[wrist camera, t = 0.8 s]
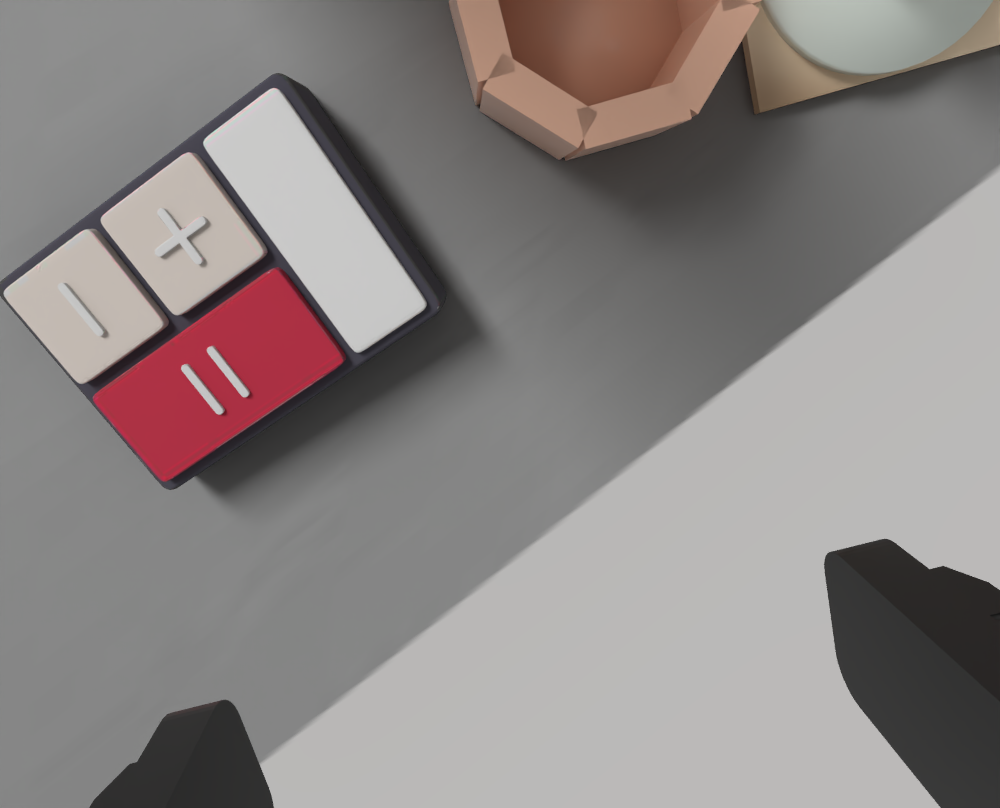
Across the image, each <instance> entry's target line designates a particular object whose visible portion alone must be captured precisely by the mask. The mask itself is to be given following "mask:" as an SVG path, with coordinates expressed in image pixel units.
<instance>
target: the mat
mask: <svg viewBox="0 0 1000 808" xmlns="http://www.w3.org/2000/svg"><path fill="white" fill-rule="evenodd" d="M755 6H756V7H757V8H759V9H760V10H759V12H758V14H757V16H756V17H755V19H754V21H753V22H752V24H751V26H750V27H749V29H748V31H747V32H746V34H745V36H744V38H743V39H742V44H743V49H744V55H745V61H746V67H747V73H748V79H749V85H750V90H751V96H752V102H753V108H754V114H758V113H762V112H765V111H769V110H772V109H776V108H779V107H783V106H786V105H790V104H793V103H797V102H800V101H804V100H808V99H811V98H815V97H818V96H822V95H825V94H829V93H832V92H836V91H839V90H843V89H846V88H850V87H853V86H857V85H860V84H864V83H867V82H871V81H874V80H878V79H881V78H885V77H888V76H892V75H896V74H899V73H903V72H906V71H910V70H913V69H917V68H920V67H924V66H927V65H931V64H934V63H938V62H941V61H945V60H948V59H952V58H955V57H959V56H962V55H966V54H969V53H973V52H977V51H980V50H984V49H987V48H991V47H994V46H998V45H1000V0H993V2H992V3H991V4H990V6H989V7H988V9H987V10H986V11H985V13H984V14H983V15H982V17H981V18H980V19H979V20H978V21H977V22H976V23H975V24H974V26H973V27H972V28H971V29H970V30H969V31H968V32H967V33H966V34H965V35H963V36H962V37H961V38H960V39H959V40H958V41H956V42H955V43H954V44H953V45H951V46H950V47H948V48H947V49H945V50H944V51H942V52H941V53H939V54H938V55H936V56H934V57H932V58H930V59H928V60H926V61H924V62H921V63H919V64H916V65H913V66H910V67H907V68H905V69H902V70H899V71H896V72H891V73H886V74H882V75H871V76H856V75H846V74H842V73H837V72H833V71H830V70H827V69H825V68H822V67H820V66H817V65H815V64H814V63H812V62H810V61H809V60H807V59H805V58H803V57H802V56H801V55H800V54H798V53H797V52H796V51H795V50H793V49H792V48H791V47H790V46H789V45H788V44H787V43H786V42H785V41H784V40H783V39H782V38H781V37H780V36H779V34H778V33H777V31H776V30H775V29H774V27H773V26H772V24H771V23H770V21H769V20H768V18H767V16H766V14H765V12H764V10H763V8H762V6H761V4H760V2H759V3H758V4H757V5H755Z"/></svg>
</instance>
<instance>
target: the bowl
mask: <svg viewBox="0 0 1000 808" xmlns="http://www.w3.org/2000/svg"><path fill="white" fill-rule="evenodd" d="M761 1H762V0H449V7H450V11H451V15H452V18H453V22H454V26H455V30H456V34H457V37H458V41H459V45H460V49H461V53H462V56H463V60H464V64H465V68H466V72H467V75H468V79H469V83H470V87H471V91H472V94H473V98H474V102H475V106H476V105H479V104H480V112H482V113H483V114H485V115H487V116H488V117H490V118H491V119H493V120H495V121H496V122H498V123H500V124H501V125H503V126H505V127H506V128H508V129H509V130H511V131H513V132H514V133H516V134H518V135H519V136H521V137H522V138H524V139H526V140H527V141H529V142H531V143H532V144H534V145H535V146H537V147H539V148H540V149H542V150H544V151H545V152H547V153H549V154H550V155H552V156H553V157H555V158H557V159H558V160H560V159H561V158H563V157H565V161H567V160H570V159H574V158H577V157H581V156H584V155H588V154H591V153H595V152H598V151H602V150H605V149H609V148H612V147H616V146H619V145H623V144H627V143H630V142H634V141H637V140H641V139H644V138H648V137H651V136H654V135H657V134H659V133H661V132H663V131H666V130H668V129H670V128H673V127H675V126H677V125H679V124H682V123H684V122H686V121H689V120H691V119H692V117H693V116H695V115H697V114H699V112H700V110H701V109H702V107H703V105H704V103H705V102H706V100H707V98H708V97H709V95H710V93H711V92H712V90H713V88H714V87H715V85H716V83H717V81H718V80H719V78H720V76H721V75H722V73H723V71H724V70H725V68H726V66H727V65H728V63H729V61H730V59H731V58H732V56H733V54H734V53H735V51H736V49H737V48H738V46H739V44H740V43H741V41H742V39H743V38H744V36H745V34H746V32H747V31H748V29H749V27H750V26H751V24H752V22H753V21H754V19H755V17H756V16H757V14H758V12H759V10H760V9H759V8H757V7H756V6H755V5H757V4H758V3H759V2H761Z"/></svg>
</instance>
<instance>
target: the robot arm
mask: <svg viewBox="0 0 1000 808" xmlns="http://www.w3.org/2000/svg"><path fill="white" fill-rule="evenodd" d="M824 565H825V566H824V568H825V576H826V584H827V591H828V599H829V606H830V613H831V620H832V627H833V635H834V642H835V650H836V656H837V660H838V664H839V667H840V670H841V673H842V676H843V678H844V681H845V683H846V685H847V687H848V689H849V691H850V693H851V695H852V696H853V698H854V700H855V701H856V703H857V704H858V705H859V707H860V708H861V709H862V710H863V712H864V713H865V714H866V716H867V717H868V718H869V719H870V720H871V722H872V723H873V724H874V725H875V727H876V728H877V729H878V730H879V732H880V733H881V734H882V735H883V736H884V738H885V739H886V740H887V741H888V743H889V744H890V745H891V747H892V748H893V749H894V750H895V752H896V753H897V754H898V755H899V756H900V758H901V759H902V760H903V761H904V763H905V764H906V765H907V766H908V768H909V769H910V770H911V771H912V772H913V774H914V775H915V776H916V778H917V779H918V780H919V781H920V782H921V784H922V785H923V786H924V787H925V789H926V790H927V791H928V792H929V794H930V795H931V796H932V797H933V799H934V800H935V801H936V802H937V804H938V805H939V806H940V807H941V808H1000V590H999V589H997V588H996V587H994V586H993V585H991V584H990V583H989V582H986V581H983V580H980V579H978V578H975V577H972V576H969V575H966V574H964V573H961V572H958V571H955V570H953V569H950V568H947V567H944V566H942V567H937V568H933V569H928V568H927V567H926V566H924V565H923V564H922V563H920V562H919V561H918V560H917V559H915V558H914V557H913V556H911V555H910V554H909V553H907V552H906V551H905V550H903V549H902V548H901V547H900V546H898V545H897V544H896V543H894V542H893V541H891V540H888V539H882V540H878V541H873V542H869V543H865V544H861V545H857V546H853V547H849V548H845V549H841V550H837V551H833V552H829V553H828V554H827V555H826V557H825V563H824ZM89 808H274V807H273V801H272V797H271V793H270V790H269V787H268V785H267V782H266V780H265V777H264V775H263V772H262V770H261V767H260V765H259V762H258V760H257V757H256V755H255V752H254V750H253V747H252V745H251V742H250V740H249V737H248V735H247V732H246V730H245V727H244V725H243V722H242V720H241V717H240V715H239V713H238V711H237V709H236V707H235V706H234V705H233V704H232V703H231V702H230V701H228V700H221V701H217V702H213V703H209V704H205V705H201V706H197V707H193V708H189V709H185V710H181V711H177V712H172V713H169V714H167V715H166V716H165V717H164V718H163V719H162V721H161V722H160V724H159V726H158V727H157V729H156V731H155V732H154V734H153V736H152V738H151V739H150V741H149V743H148V744H147V746H146V748H145V750H144V751H143V753H142V755H141V756H140V758H139V760H138V761H137V762H136V763H132V764H129V765H128V766H127V767H126V768H125V769H124V770H123V771H122V772H121V773H120V774H119V775H118V776H117V777H116V778H115V779H114V780H113V781H112V782H111V783H110V784H109V785H108V786H107V787H106V788H105V789H104V790H103V791H102V792H101V793H100V794H99V795H98V796H97V797H96V798H95V799H94V801H93V803H92V804H91V806H90V807H89Z"/></svg>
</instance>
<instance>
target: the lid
mask: <svg viewBox="0 0 1000 808" xmlns="http://www.w3.org/2000/svg"><path fill="white" fill-rule="evenodd" d="M992 2H993V0H762V1H761V2H760V4H761V6H762V8H763V10H764V12H765V14H766V16H767V18H768V20H769V21H770V23H771V24H772V26H773V27H774V29H775V30H776V31H777V33H778V34H779V36H780V37H781V38H782V39H783V40H784V41H785V42H786V43H787V44H788V45H789V46H790V47H791V48H792V49H793V50H795V51H796V52H797V53H798V54H800V55H801V56H802V57H803V58H805V59H807V60H809V61H810V62H812V63H814V64H815V65H817V66H820V67H822V68H825V69H827V70H830V71H833V72H837V73H842V74H846V75H856V76H871V75H882V74H886V73H891V72H896V71H899V70H902V69H905V68H907V67H910V66H913V65H916V64H919V63H921V62H924V61H926V60H928V59H930V58H932V57H934V56H936V55H938V54H939V53H941V52H942V51H944V50H945V49H947V48H948V47H950V46H951V45H953V44H954V43H955V42H956V41H958V40H959V39H960V38H961V37H962V36H963V35H965V34H966V33H967V32H968V31H969V30H970V29H971V28H972V27H973V26H974V24H975V23H976V22H977V21H978V20H979V19H980V18H981V17H982V15H983V14H984V13H985V11H986V10H987V9H988V7H989V6H990V4H991V3H992Z"/></svg>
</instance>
